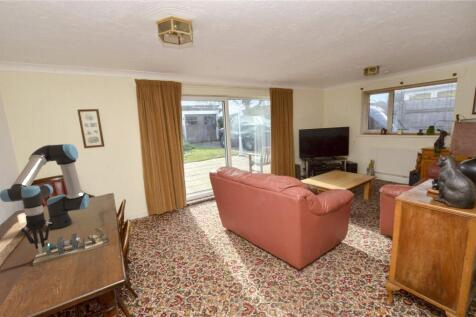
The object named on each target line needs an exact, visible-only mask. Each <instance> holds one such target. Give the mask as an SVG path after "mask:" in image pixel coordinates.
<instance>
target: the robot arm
mask: <svg viewBox="0 0 476 317" xmlns="http://www.w3.org/2000/svg"><path fill="white" fill-rule="evenodd" d="M77 159H79V151H78V149H77V147H76V146H75V145H74V144H71V143H69V144H67V143H64V144H63V143H62V144H48V145H43V146H41V147H39V148H37V149H36V150H34V151H33V152H32V153H31V154H30V155H29V157H28V162H27V163H26V165H25V166H24V168H23V169H22V170H21V172H20V174H19V175H18V176H17V178H16V179H15V181H14V182H13V184H12V185H11V187H9V188H4V189H2V190H1V191H0V200H1V201H2V202H3V203H14V202H22V204H23V210H24V214H25V215H24V216H25V222H26V224H25V226H24V227H22V228H20V231H21V233H24V235H25V237H26V239H27V241H28V242H29V244H30V245H31V244H34V247H35V249H36V250H38V254H39V255H40V254H43V253H45V252H44V248H45V247H46V242H45V241H47V240H48V239H49V235H50V230H57V229H61V228H64V227H67V226H69V225H71V224H72V223H73V218H72V217H71V216H70V214H69V212H73V211H82V210H86V209H87V208H88V206H89V204H90V203H89V202H90V196H89V194H86V193H85V191H84V190H82V187H81V184H80V180H79V176H78V172H77V168H76V164H75V163H76V162H77ZM49 162H55V163H56V165H57V166H59V168H60V171H61V173H62V177H63V181H64V184H65V187H66V191H67V192H66V193H67V194H59V195H53V196H52V197H50V196H51V195H52V194H53V192H54V188H53V186H52V185H50V184H48V183H47V184H45V183H43V184H40V185H32V184H33V183H34V181H35V179H36V178H37V176H38V174H39V172H40V171H41V169H42V168H43V166H45V165H46V164H47V163H49ZM48 197H50V198H48ZM46 198H47V200H46V208H47V214H48V221H47V219H46V218H45V213H44V206H43V199H46ZM44 227H46V230H45V234H44V230H43V228H44ZM29 230H30V231H31V233H32V235H31V233H30V231H29ZM38 234H39V237H38ZM32 236H33V237H32Z"/></svg>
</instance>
